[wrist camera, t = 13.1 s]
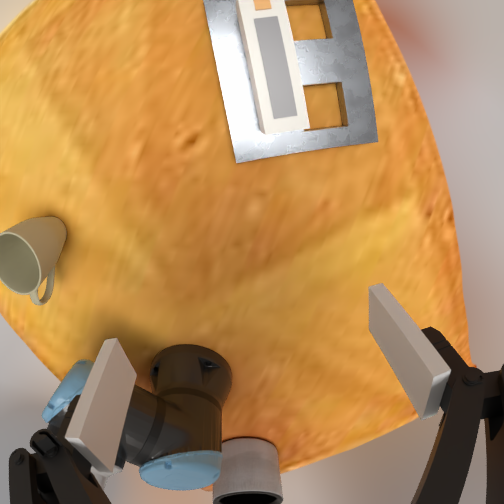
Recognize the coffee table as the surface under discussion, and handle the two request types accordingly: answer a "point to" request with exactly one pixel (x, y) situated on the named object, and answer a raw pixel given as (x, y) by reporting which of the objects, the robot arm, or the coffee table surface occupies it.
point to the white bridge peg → (272, 65)
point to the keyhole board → (312, 73)
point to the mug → (31, 255)
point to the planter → (248, 473)
